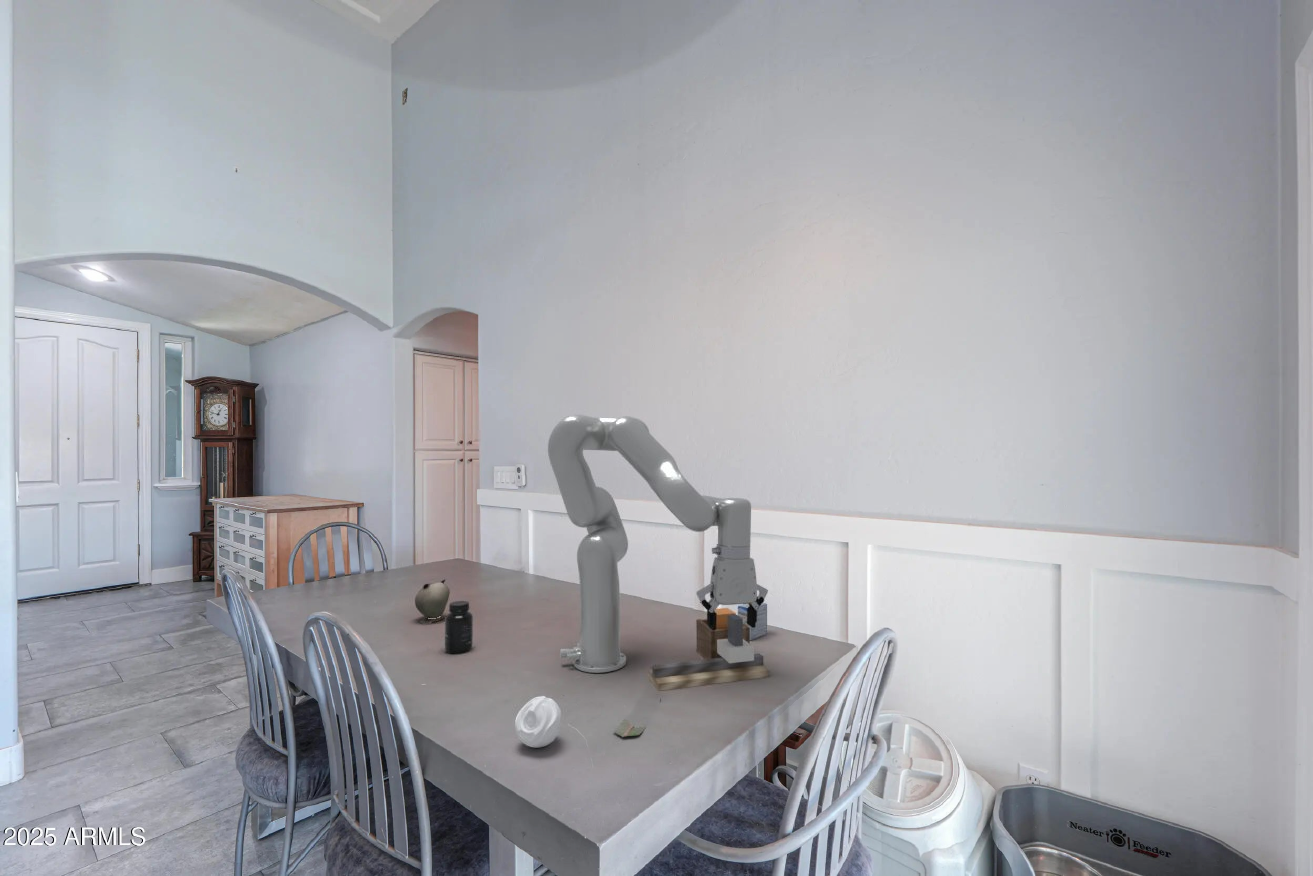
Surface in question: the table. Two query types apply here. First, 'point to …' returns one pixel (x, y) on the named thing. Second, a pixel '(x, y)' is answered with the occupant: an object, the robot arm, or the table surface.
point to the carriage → (735, 642)
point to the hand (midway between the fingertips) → (731, 627)
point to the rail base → (705, 672)
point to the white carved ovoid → (538, 722)
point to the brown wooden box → (713, 638)
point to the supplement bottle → (458, 628)
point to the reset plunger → (722, 617)
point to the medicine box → (761, 620)
